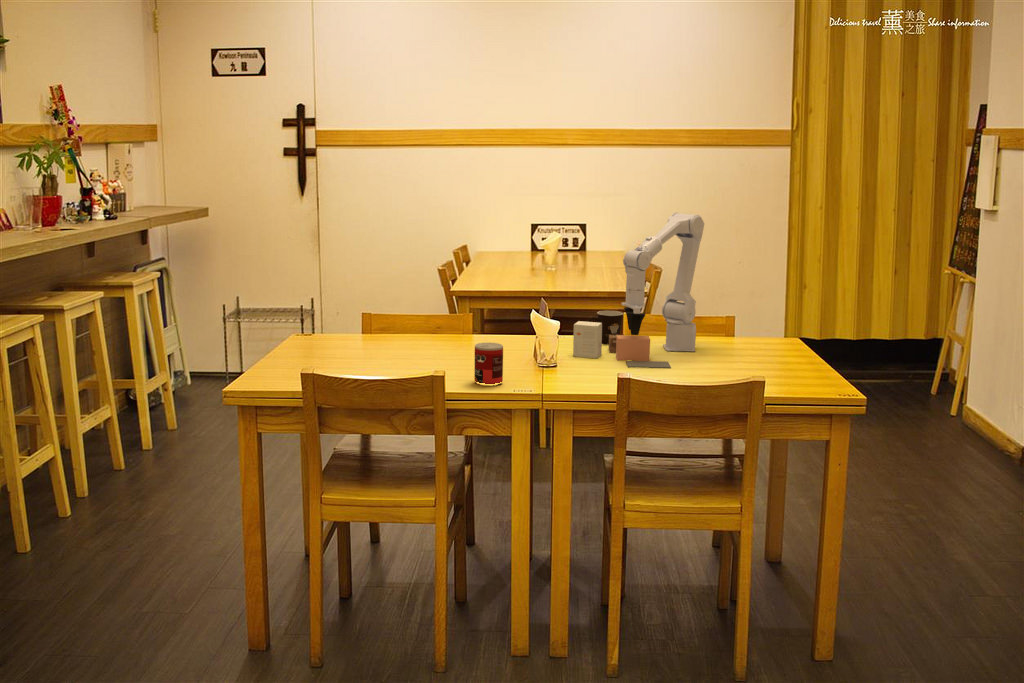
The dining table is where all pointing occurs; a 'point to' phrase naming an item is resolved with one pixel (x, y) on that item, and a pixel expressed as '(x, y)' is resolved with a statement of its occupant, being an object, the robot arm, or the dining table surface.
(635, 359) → the pink rectangular block
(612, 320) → the coffee mug
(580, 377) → the dining table surface
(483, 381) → the canned food
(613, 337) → the letter cube
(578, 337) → the small box
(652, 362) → the mat
